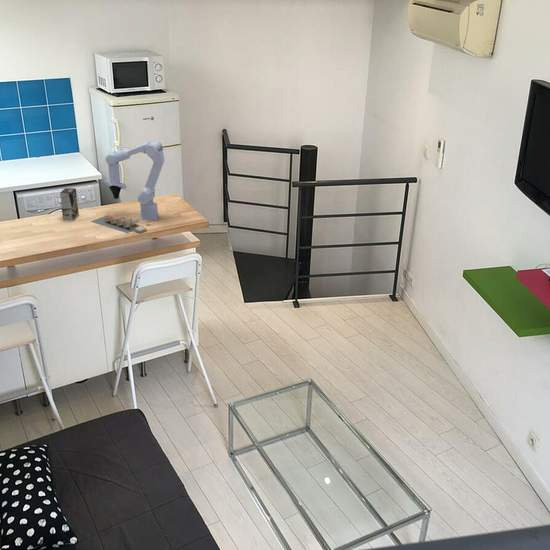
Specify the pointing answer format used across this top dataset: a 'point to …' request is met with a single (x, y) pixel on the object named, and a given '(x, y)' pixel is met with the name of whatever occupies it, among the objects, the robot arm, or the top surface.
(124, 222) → the grey wooden block
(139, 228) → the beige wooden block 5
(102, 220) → the slate mat
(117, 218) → the grey wood block
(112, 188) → the robot arm
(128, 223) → the wooden block
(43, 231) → the top surface
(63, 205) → the coffee box
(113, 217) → the terracotta tile
